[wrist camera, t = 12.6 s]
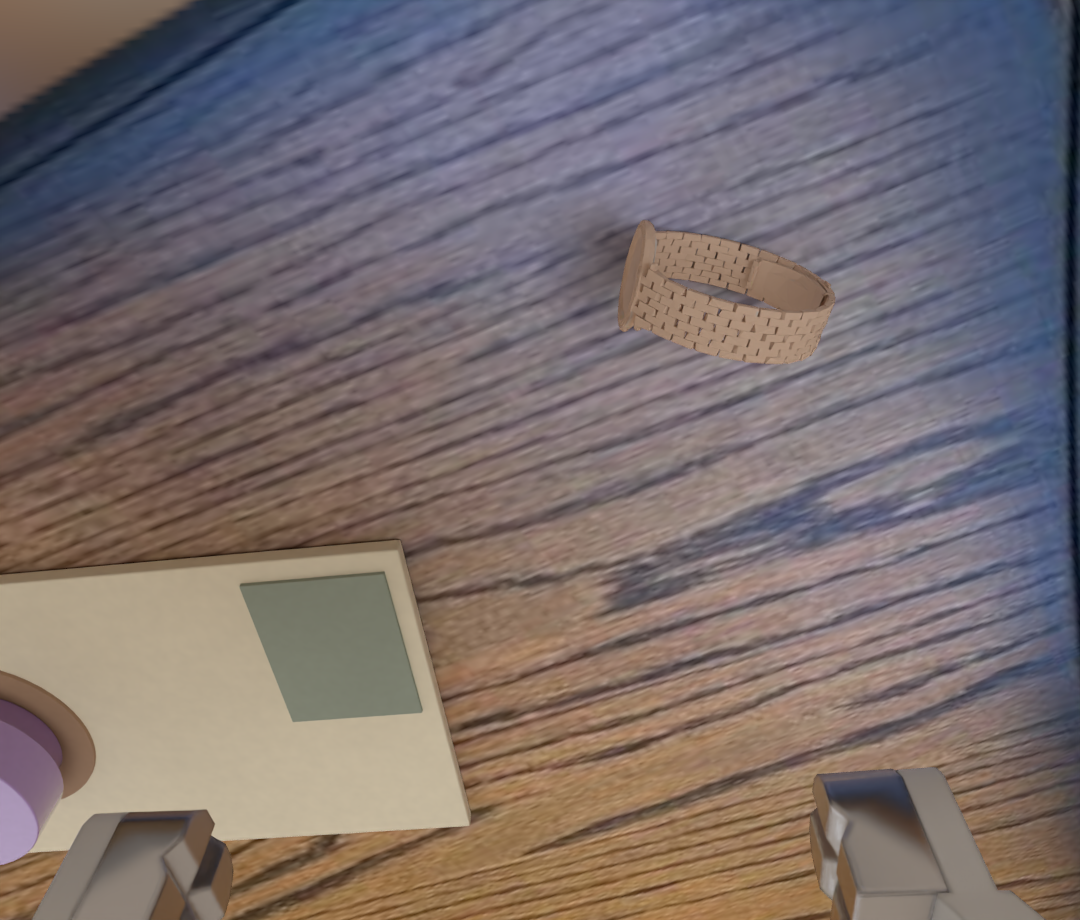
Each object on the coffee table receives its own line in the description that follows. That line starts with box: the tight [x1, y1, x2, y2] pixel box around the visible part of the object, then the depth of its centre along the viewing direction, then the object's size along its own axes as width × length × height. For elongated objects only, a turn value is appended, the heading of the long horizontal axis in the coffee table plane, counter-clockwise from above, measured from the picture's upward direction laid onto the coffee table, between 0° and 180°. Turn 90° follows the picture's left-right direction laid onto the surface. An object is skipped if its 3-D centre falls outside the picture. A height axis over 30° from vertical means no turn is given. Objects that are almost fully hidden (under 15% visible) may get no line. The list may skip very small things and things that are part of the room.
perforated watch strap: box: [618, 220, 835, 364], centre depth 20 cm, size 3×5×5 cm, turn 79°
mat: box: [0, 540, 471, 853], centre depth 31 cm, size 14×22×1 cm, turn 97°
